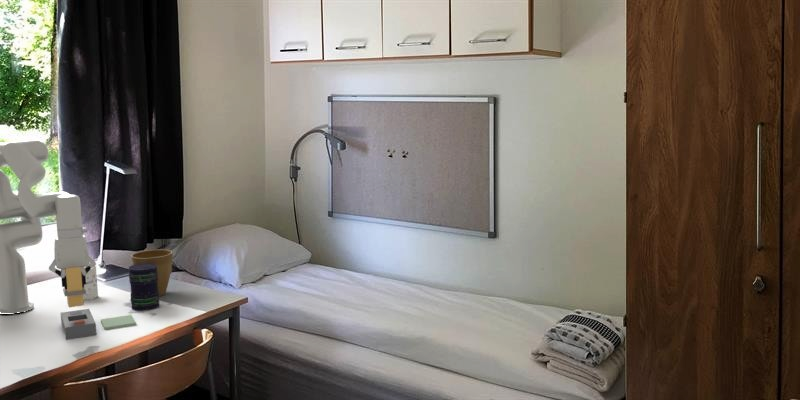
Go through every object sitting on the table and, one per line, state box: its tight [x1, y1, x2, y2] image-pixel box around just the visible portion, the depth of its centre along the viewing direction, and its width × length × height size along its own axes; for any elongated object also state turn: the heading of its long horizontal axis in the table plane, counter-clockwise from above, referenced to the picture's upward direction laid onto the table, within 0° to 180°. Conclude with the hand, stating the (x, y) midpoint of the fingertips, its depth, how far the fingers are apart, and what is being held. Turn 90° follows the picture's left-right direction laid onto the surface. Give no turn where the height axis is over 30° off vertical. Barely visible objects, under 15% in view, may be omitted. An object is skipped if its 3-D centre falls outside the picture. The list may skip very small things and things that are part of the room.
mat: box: [100, 314, 137, 331], centre depth 264 cm, size 10×10×1 cm
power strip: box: [60, 308, 97, 340], centre depth 258 cm, size 18×9×5 cm, turn 28°
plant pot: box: [130, 249, 174, 297], centre depth 297 cm, size 15×15×16 cm
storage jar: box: [128, 263, 161, 312], centre depth 281 cm, size 10×10×15 cm
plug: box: [62, 267, 86, 308], centre depth 256 cm, size 6×6×13 cm
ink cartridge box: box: [83, 258, 99, 301], centre depth 294 cm, size 9×5×15 cm, turn 84°
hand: (74, 287), depth 256 cm, fingers closed on plug, 4 cm apart
